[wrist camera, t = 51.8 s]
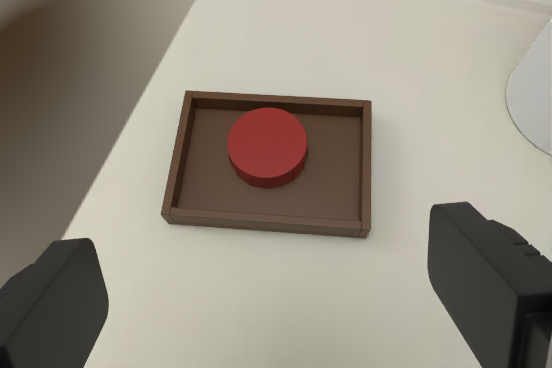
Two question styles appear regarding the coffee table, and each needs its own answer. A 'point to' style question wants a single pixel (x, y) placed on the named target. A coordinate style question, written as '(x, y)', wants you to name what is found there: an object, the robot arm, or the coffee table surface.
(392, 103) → the coffee table surface
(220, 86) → the coffee table surface
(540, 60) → the tall pillar cylinder
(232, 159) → the lid
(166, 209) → the tray
